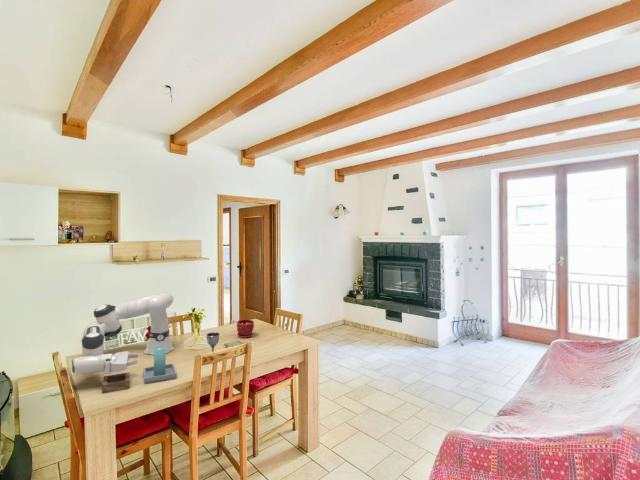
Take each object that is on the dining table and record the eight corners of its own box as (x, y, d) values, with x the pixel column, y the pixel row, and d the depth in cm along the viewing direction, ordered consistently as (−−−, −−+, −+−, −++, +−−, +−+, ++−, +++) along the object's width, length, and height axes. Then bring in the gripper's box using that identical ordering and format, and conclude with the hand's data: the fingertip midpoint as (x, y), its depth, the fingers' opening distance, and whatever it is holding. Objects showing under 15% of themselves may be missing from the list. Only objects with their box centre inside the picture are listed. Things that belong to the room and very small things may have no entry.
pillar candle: (151, 374, 193) (152, 348, 193) (161, 371, 198) (162, 345, 197) (157, 377, 189) (157, 350, 189) (167, 373, 194) (167, 347, 194)
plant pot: (233, 338, 265) (233, 322, 264) (242, 333, 277) (242, 318, 277) (248, 340, 261) (248, 324, 261) (256, 335, 274) (256, 320, 273)
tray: (143, 373, 197) (143, 368, 197) (173, 368, 205) (173, 363, 204) (144, 384, 183) (144, 378, 183) (176, 378, 191) (176, 373, 191)
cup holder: (103, 383, 182) (103, 376, 182) (129, 379, 188) (129, 372, 188) (102, 393, 172) (102, 385, 172) (129, 388, 178) (129, 380, 177)
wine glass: (220, 354, 229) (220, 332, 228) (217, 359, 221) (217, 336, 220) (208, 354, 229) (208, 332, 228) (204, 358, 221) (205, 335, 220)
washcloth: (235, 353, 232) (235, 349, 232) (222, 347, 245) (222, 342, 245) (252, 349, 242) (252, 344, 242) (238, 343, 254) (238, 338, 254)
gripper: (110, 361, 192) (138, 357, 198) (105, 375, 173) (136, 371, 179) (110, 350, 192) (138, 347, 198) (105, 363, 173) (136, 359, 179)
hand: (137, 358), depth 188 cm, fingers open, 8 cm apart
